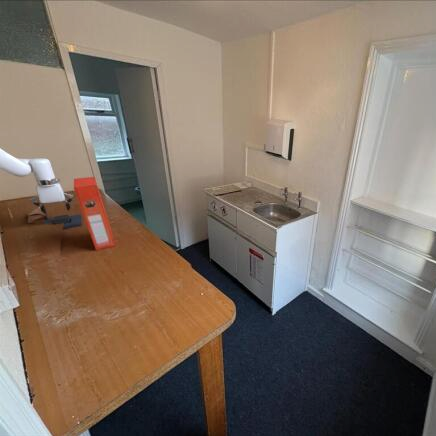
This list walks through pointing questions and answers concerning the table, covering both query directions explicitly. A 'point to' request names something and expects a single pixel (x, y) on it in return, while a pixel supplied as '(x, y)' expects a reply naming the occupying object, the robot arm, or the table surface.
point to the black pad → (61, 219)
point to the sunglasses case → (36, 216)
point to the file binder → (94, 212)
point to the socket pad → (74, 222)
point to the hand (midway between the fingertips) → (57, 211)
